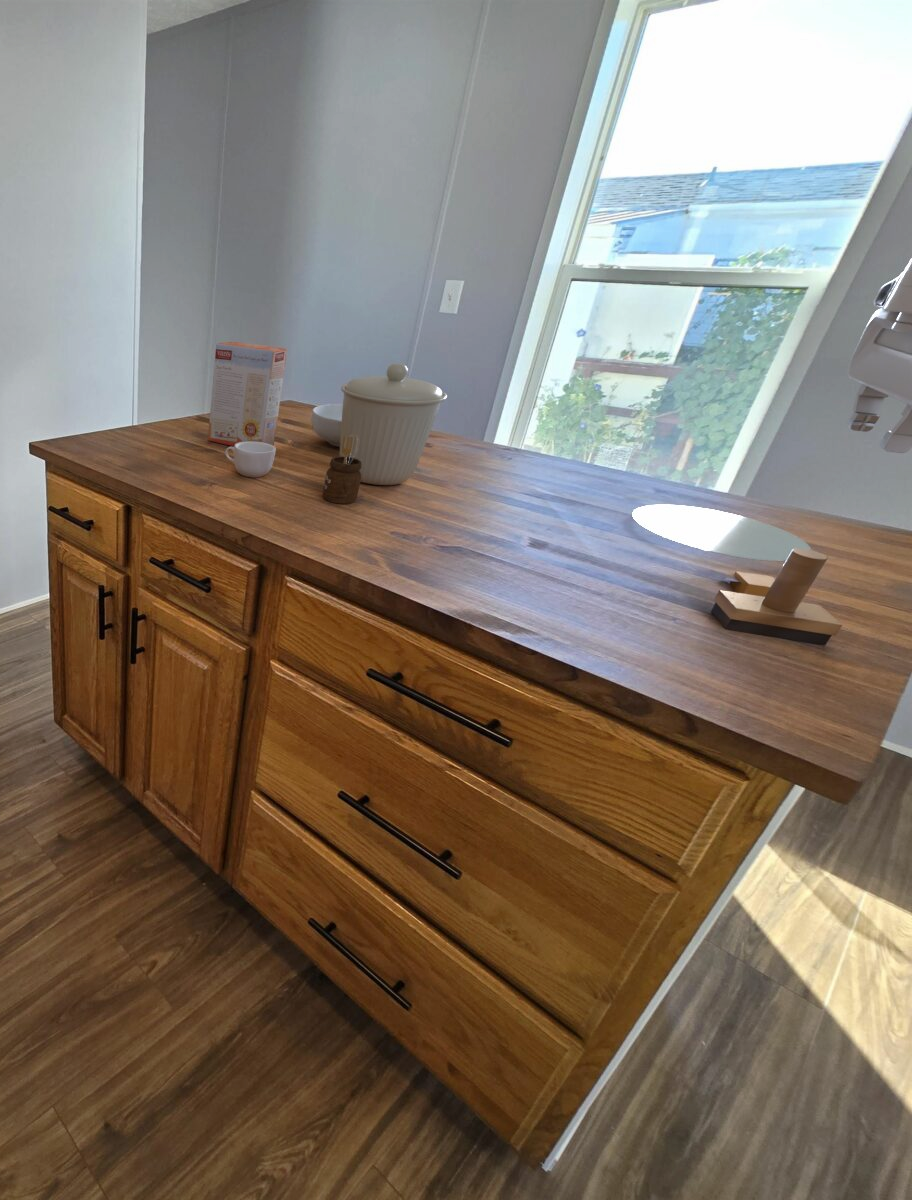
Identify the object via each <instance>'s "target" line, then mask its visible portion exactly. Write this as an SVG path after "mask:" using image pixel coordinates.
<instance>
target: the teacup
mask: <svg viewBox="0 0 912 1200" xmlns="http://www.w3.org/2000/svg"><path fill="white" fill-rule="evenodd" d="M229 450H231V451H232V453H233V458H232V457H230V456H229V454H228V453H229ZM276 451H277V448H276V446H275V445H274V446H273V445H270V444H267V443H262V442H253V441H246V442H239V443H236V444H235V447H233V446H229V447H226V448H225V451H224V455H225V457H226V459H227V460H228V461H230V462H231V463H233V465H234V468H235V470H236V471H237V473H239V474H240V475H241V476H243V477H246V478H253V479H255V478H262V477H263V476H265V475H267V474H268V473H269V472H270V471H271V469H272V467H273V465H274V461H275V457H276Z"/></svg>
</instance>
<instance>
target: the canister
mask: <svg viewBox="0 0 912 1200" xmlns="http://www.w3.org/2000/svg"><path fill="white" fill-rule="evenodd" d="M408 373H409V368H408V367H407V365H405V364H403V363H392V364H390V365H389V366H388V367H387V368H386V375H370V376H360V377H356V378H353V379H351V380H350V381H349V382H346V383H344V384H342V385H341V386H340V391H341V392H342V393H343V399H342V400H343V401H342V404H343V409H342V423H341V436H340V447H339V457H341V456H342V457H344V454H343V453H342V452H341V451H342V445H343V438H344V436H346V438H345V442H346V443H345V445H344V446H345V447H344V448H346V444H347V440H346V439H347V438H348V436H349V437H350V439H349V444H348V448H350V443H351V437H353V441H354V442H353V443H352V445H353V447H352V451H351V453H350V454H351V455H350V454H348V455H347V457H352V458H355V459H358V460H360V461H361V463H362V466H361V469H360V470H359V471H360V473H361V481H360V483H363V484H368V485H374V486H375V485H376V486H393V485H395V486H396V485H399V484H403V483H405V482H407V481H408V480H409V479H410V478H411V477H412V476H413V474H414V473H415V472H416V469H417V467H418V464H419V461H420V459H421V457H422V455H423V453H424V449H425V447H426V444H427V441H428V439H429V437H430V434H431V431H432V428H433V425H434V423H435V421H436V419H437V415H438V412H439V410H440V407H441V404H442V403H443V402H444V401H446V399H447V398H448V395H447V393H446V392H444V391H442V389H441V388H440V387H439V386H437V385H435V384H434V383H431V382H428V381H425V380H421V379H416V378H411V377H407V376H408ZM350 435H352V436H350ZM355 435H356V436H355ZM357 436H358V438H356V437H357ZM359 440H360V442H359ZM356 443H357V444H358V445H356ZM358 447H359V448H358ZM355 448H356V449H357V450H356V449H355ZM354 452H356V453H357V454H356V453H354ZM354 454H355V455H356V456H355V455H354ZM353 456H354V457H353Z"/></svg>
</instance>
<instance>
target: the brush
mask: <svg viewBox="0 0 912 1200" xmlns="http://www.w3.org/2000/svg"><path fill="white" fill-rule="evenodd" d="M827 560H828V555H826V554H824V553H821V552H818V551H816V550H812V549H811V550H808V549H801V548H795V549H793V550H792V551H791V553H790V555H789V556H788V558H787V560H786V561H784V563H783V565H782V566H781V568H780V570H779V572H778V574H777V576H776V577H775V578H774V579H775V580H774V582H773V584H772V585H771V587H770V589H769V591H768V592H767V594H766V596H765V597H763V596H756V595H749V594H743V593H737V592H736V591H729V590H722V589H719V590H718V592H717V593H716V595H715V597H714V599H713V601H714V602H715V603H714V605H713V607H712V608H711V611H710V612H711V614H712V615H713V616H714V617H715V618H716V619H717V621H718V622H719V623H720V624H721V625H722V626H723V628H724V629H725V630H730V631H736V632H742V633H749V634H753V635H760V636H765V637H772V638H778V639H783V640H784V639H785V640H791V641H797V642H802V643H807V644H808V643H810V644H815V645H820V646H826V645H827V643H829V640H830V639H831V637H832V636H835V637H836V636H837V634H838V633H839V632H840V630H841V628H842V627H843V624H842V623H841V622H840V621H839V620H838V619H836V618H835V617H834V616H833V615H832V614H831V613H830V612H829V611H827V610H826V609H825V608H823V606H821V605H820V604H815V603H808V602H803V600H804V598H805V596H806V594H807V593H808V592H809V590H810V588H811V586H812V585H813V583H814V581H815V580H816V578H817V577H818V575H819V573H820V572H821V570H822V569H823V567H824V565H825V564H826V562H827Z"/></svg>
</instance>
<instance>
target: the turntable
mask: <svg viewBox="0 0 912 1200" xmlns="http://www.w3.org/2000/svg"><path fill="white" fill-rule="evenodd" d="M631 517H632V519H633V520H634V522H636V523H637V524H638V525H639V526H641V527H642V528H644V529H646V530H647V531H649V532H651V533H653V534H656V535H657V536H660V537H662V538H665V539H667V540H670V541H672V542H675V543H678V544H682V545H685V546H688V547H691V548H693V549H694V548H695V549H698V550H702V551H705V552H710V553H714V554H719V555H723V556H729V557H735V558H741V559H747V560H756V561H766V562H785V561H786V560H787V558H788V556H789V555H790V553H791V551H792V550H793V549H795V548H801V549H808V550H812V547H810V545H809V544H808V543H807V542H806V541H804V540H803V539H802V538H800V537H798V536H796V535H794V534H793V533H790V532H789V531H787V530H783V529H781V528H779V527H777V526H774V525H771V524H768V523H766V522H763V521H761V520H757V519H752V518H749V517H746V516H742V515H737V514H734V513H729V512H724V511H720V510H717V509H716V510H715V509H710V508H703V507H698V506H688V505H678V504H677V505H676V504H651V505H644V506H639V507H637V508H635V509H633V511H632V512H631Z"/></svg>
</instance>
